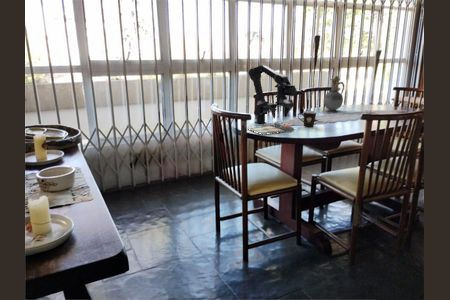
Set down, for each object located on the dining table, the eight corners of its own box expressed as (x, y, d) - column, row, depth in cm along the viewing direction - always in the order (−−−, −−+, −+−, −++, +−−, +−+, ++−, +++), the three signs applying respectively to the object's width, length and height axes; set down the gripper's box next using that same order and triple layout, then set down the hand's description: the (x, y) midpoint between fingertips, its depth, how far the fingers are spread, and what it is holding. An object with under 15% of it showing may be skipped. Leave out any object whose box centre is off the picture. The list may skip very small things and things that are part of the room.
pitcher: (320, 110, 281) (324, 75, 272) (336, 109, 290) (340, 74, 281) (330, 113, 272) (334, 76, 263) (346, 111, 281) (350, 75, 272)
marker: (274, 126, 225) (274, 122, 224) (277, 125, 226) (277, 122, 225) (282, 128, 217) (282, 125, 217) (284, 128, 218) (285, 125, 218)
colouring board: (247, 129, 214) (247, 127, 214) (270, 127, 222) (270, 125, 221) (260, 135, 201) (260, 133, 200) (284, 132, 208) (284, 130, 208)
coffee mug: (317, 126, 225) (318, 112, 222) (311, 128, 219) (312, 113, 216) (302, 123, 233) (303, 109, 230) (296, 125, 226) (297, 111, 223)
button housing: (279, 129, 214) (280, 126, 214) (287, 128, 217) (287, 125, 217) (285, 132, 209) (285, 129, 208) (293, 130, 212) (293, 128, 211)
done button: (281, 128, 214) (282, 125, 213) (287, 127, 216) (287, 124, 215) (286, 129, 210) (286, 126, 209) (291, 129, 212) (292, 126, 211)
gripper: (276, 97, 204) (275, 121, 209) (300, 95, 212) (298, 118, 217) (266, 94, 214) (265, 118, 218) (289, 93, 222) (288, 115, 226)
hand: (279, 117), depth 220 cm, fingers open, 9 cm apart
